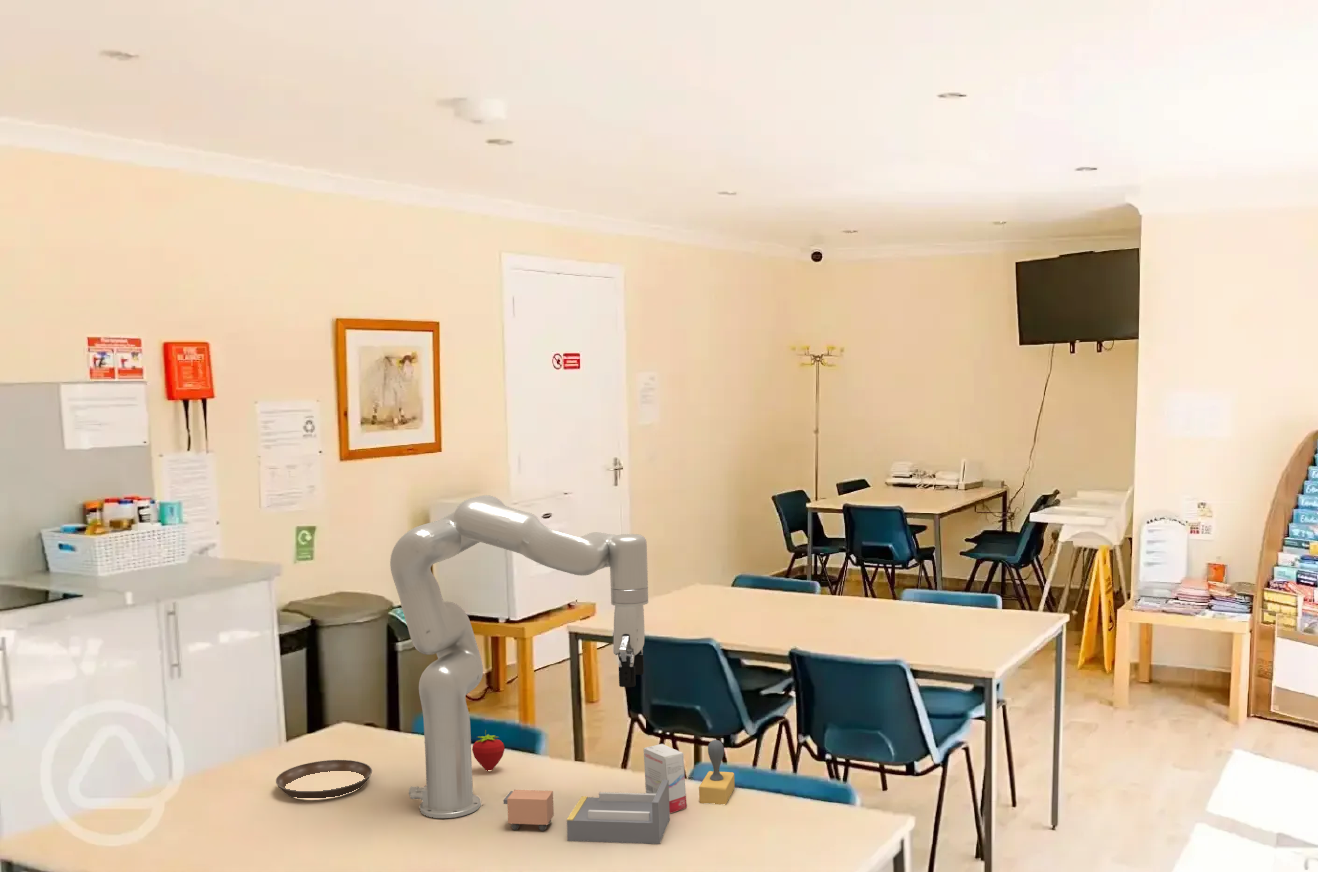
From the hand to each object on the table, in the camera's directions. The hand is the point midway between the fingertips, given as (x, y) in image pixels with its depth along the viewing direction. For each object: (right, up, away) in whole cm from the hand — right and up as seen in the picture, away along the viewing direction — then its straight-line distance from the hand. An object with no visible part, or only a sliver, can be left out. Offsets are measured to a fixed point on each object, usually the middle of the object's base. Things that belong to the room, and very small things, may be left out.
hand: (631, 680), depth 228 cm
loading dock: (-2, -28, -5) cm, 29 cm away
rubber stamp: (+18, -27, +12) cm, 35 cm away
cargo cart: (-20, -29, -2) cm, 35 cm away
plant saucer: (-69, -30, +25) cm, 79 cm away
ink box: (+7, -28, +7) cm, 29 cm away
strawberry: (-34, -28, +32) cm, 54 cm away
